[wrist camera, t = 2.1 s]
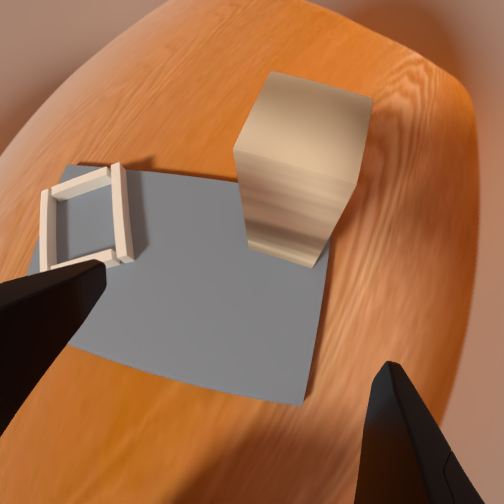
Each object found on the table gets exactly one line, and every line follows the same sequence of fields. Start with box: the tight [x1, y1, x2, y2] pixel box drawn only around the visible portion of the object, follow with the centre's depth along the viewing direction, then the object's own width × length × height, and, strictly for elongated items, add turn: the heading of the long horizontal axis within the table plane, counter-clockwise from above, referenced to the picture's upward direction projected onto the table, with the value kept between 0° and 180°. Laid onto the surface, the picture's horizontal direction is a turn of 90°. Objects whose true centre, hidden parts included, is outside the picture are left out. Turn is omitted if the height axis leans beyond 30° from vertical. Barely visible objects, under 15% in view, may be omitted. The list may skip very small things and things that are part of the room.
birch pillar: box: [233, 71, 373, 269], centre depth 17 cm, size 5×5×12 cm
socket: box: [39, 162, 135, 272], centre depth 23 cm, size 8×8×2 cm
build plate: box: [27, 165, 331, 406], centre depth 23 cm, size 15×24×1 cm, turn 79°
